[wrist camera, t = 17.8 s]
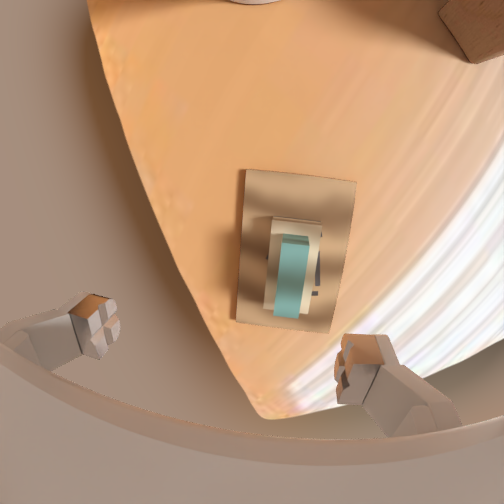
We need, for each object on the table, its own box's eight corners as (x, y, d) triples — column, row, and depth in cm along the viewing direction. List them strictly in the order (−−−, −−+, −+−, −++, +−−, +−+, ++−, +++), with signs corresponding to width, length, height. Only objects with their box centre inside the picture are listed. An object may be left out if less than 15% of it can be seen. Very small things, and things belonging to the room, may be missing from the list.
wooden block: (470, 66, 25) (552, 33, 6) (434, 12, 23) (495, -45, 5) (501, 55, 22) (575, 30, 4) (469, 6, 21) (528, -38, 2)
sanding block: (273, 215, 36) (268, 227, 30) (320, 221, 36) (325, 233, 29) (265, 300, 40) (259, 324, 34) (307, 305, 39) (308, 330, 33)
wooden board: (247, 169, 36) (246, 169, 35) (355, 181, 34) (357, 182, 33) (237, 318, 43) (235, 322, 42) (328, 330, 41) (328, 333, 40)
